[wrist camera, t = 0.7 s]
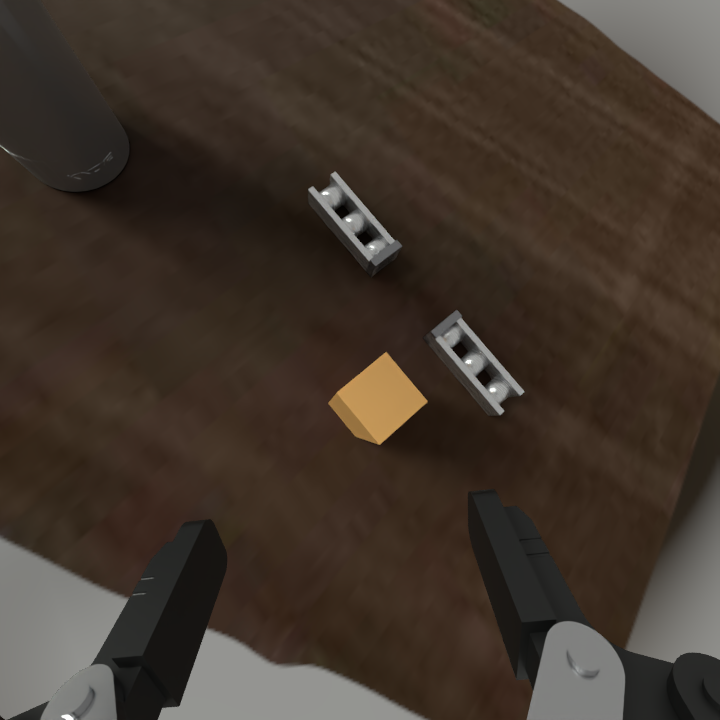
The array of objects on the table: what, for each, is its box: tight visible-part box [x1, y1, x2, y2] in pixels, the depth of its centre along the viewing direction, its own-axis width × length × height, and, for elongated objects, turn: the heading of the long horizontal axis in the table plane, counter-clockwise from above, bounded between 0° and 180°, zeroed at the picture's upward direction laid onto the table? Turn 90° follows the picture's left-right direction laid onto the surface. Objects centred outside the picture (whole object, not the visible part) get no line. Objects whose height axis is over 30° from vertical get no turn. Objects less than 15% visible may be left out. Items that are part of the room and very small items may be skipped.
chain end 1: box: [308, 172, 402, 277], centre depth 35 cm, size 10×3×3 cm, turn 40°
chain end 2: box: [423, 310, 524, 416], centre depth 34 cm, size 10×3×3 cm, turn 40°
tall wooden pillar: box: [328, 352, 428, 445], centre depth 27 cm, size 4×5×12 cm
